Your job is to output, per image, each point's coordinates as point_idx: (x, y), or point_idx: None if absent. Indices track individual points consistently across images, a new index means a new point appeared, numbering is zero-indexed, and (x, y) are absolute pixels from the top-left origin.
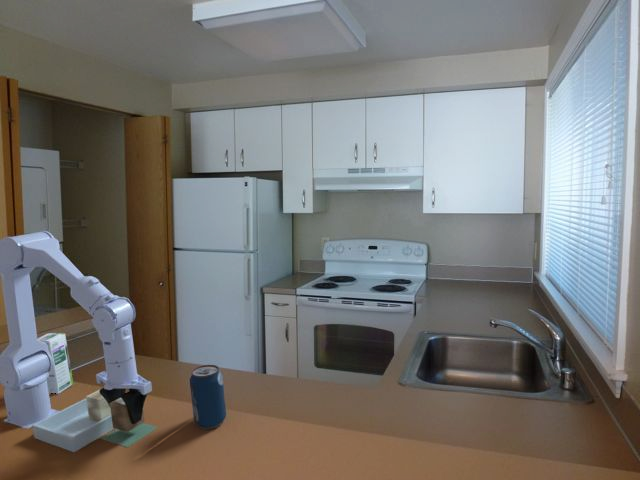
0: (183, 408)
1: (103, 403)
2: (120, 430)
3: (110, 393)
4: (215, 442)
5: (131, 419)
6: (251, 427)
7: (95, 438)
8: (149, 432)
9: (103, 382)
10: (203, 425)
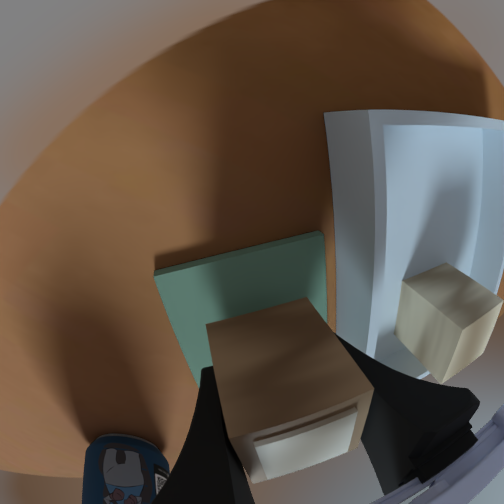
0: None
1: (442, 330)
2: None
3: (404, 439)
4: (30, 413)
5: (205, 384)
6: (53, 457)
7: (341, 218)
8: (191, 366)
9: (488, 424)
10: (95, 442)
